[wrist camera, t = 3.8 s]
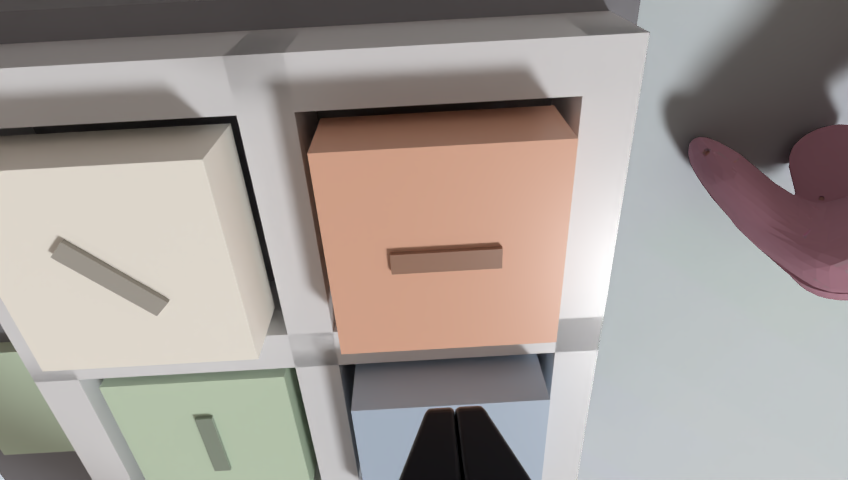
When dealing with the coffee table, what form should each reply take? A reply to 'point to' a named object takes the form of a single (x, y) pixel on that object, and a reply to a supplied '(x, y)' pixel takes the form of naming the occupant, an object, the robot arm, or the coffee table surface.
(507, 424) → the slate key
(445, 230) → the peach flat square block
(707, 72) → the coffee table surface
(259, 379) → the sage key
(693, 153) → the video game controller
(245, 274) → the cream key
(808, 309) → the coffee table surface
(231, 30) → the keypad
